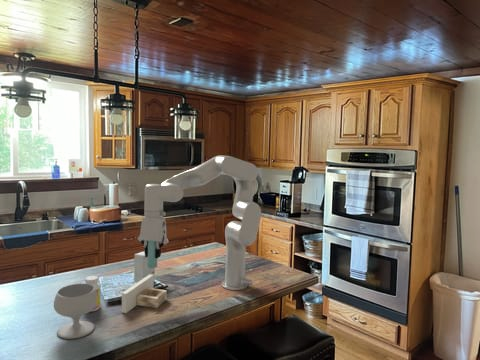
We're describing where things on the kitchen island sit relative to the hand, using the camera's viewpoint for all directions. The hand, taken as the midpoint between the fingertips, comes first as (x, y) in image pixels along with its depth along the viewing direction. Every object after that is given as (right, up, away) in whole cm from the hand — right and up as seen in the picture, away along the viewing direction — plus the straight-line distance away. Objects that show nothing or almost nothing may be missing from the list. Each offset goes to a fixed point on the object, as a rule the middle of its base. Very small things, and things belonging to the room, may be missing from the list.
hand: (152, 256), depth 148 cm
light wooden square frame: (-1, -20, +2) cm, 20 cm away
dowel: (0, -4, 0) cm, 4 cm away
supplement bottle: (-23, -20, -6) cm, 31 cm away
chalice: (-22, -22, -23) cm, 38 cm away
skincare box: (-10, -18, +23) cm, 31 cm away
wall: (-7, -20, +2) cm, 21 cm away
